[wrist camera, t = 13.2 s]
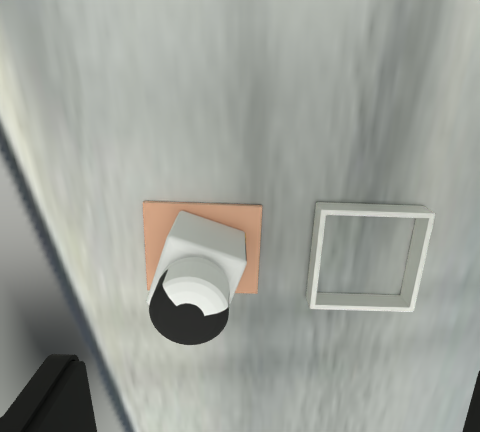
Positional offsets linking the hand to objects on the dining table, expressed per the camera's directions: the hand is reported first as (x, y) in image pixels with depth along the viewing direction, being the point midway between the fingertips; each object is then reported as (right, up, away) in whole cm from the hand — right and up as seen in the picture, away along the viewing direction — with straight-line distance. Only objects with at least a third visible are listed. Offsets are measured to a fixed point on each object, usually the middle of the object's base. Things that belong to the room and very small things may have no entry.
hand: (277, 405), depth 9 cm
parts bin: (+12, +1, +30) cm, 33 cm away
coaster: (-5, +1, +30) cm, 31 cm away
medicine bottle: (-5, +1, +30) cm, 30 cm away
